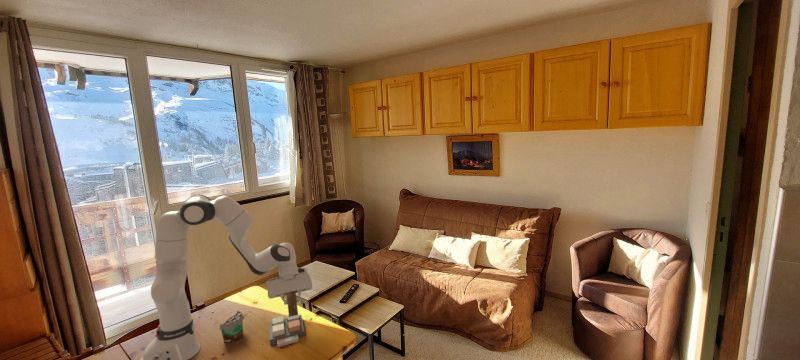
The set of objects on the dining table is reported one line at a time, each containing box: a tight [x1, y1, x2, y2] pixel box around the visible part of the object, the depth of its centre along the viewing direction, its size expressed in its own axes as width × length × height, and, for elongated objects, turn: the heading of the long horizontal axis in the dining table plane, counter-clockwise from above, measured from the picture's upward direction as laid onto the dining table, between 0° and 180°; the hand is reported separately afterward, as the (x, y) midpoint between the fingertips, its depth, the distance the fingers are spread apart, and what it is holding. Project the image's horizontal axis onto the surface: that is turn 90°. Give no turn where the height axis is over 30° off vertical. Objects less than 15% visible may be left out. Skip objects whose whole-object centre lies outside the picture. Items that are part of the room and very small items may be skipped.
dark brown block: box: [285, 291, 299, 317], centre depth 152 cm, size 4×4×10 cm
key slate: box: [287, 314, 300, 322], centre depth 160 cm, size 5×5×2 cm
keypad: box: [269, 314, 306, 348], centre depth 154 cm, size 15×18×2 cm
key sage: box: [271, 315, 285, 326], centre depth 157 cm, size 5×5×2 cm
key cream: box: [273, 323, 285, 337], centre depth 151 cm, size 5×5×2 cm
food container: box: [219, 310, 245, 344], centre depth 152 cm, size 12×6×10 cm, turn 168°
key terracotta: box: [288, 320, 301, 333], centre depth 153 cm, size 5×5×2 cm
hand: (292, 302), depth 151 cm, fingers closed on dark brown block, 4 cm apart
